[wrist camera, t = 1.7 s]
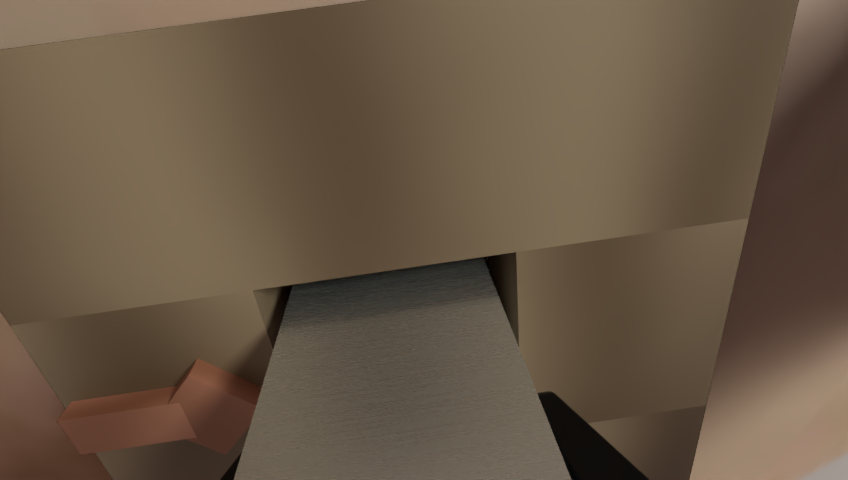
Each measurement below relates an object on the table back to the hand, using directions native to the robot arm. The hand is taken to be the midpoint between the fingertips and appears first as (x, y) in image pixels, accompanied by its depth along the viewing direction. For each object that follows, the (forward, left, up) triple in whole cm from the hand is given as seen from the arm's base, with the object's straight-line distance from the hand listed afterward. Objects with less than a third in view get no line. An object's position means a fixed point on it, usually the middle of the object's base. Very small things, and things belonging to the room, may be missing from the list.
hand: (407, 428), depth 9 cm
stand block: (0, 0, -4) cm, 4 cm away
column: (0, 0, -4) cm, 4 cm away
